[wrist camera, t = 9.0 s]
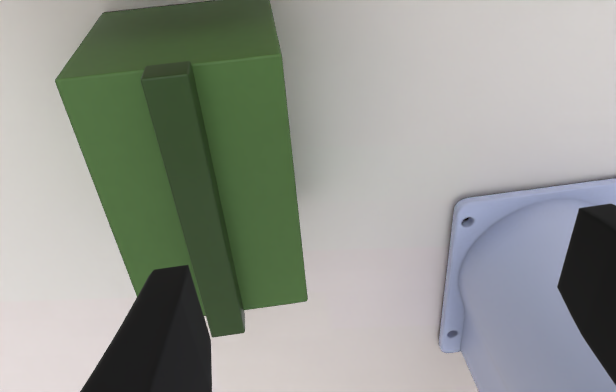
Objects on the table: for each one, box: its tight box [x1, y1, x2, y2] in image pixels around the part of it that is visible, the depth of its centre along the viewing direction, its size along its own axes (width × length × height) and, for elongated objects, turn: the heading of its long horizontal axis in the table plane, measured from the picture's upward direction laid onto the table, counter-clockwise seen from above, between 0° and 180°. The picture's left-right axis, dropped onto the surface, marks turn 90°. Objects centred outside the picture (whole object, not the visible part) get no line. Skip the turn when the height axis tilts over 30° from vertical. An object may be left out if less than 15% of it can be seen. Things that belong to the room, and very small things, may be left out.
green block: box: [55, 0, 308, 337], centre depth 15 cm, size 8×5×6 cm, turn 4°
